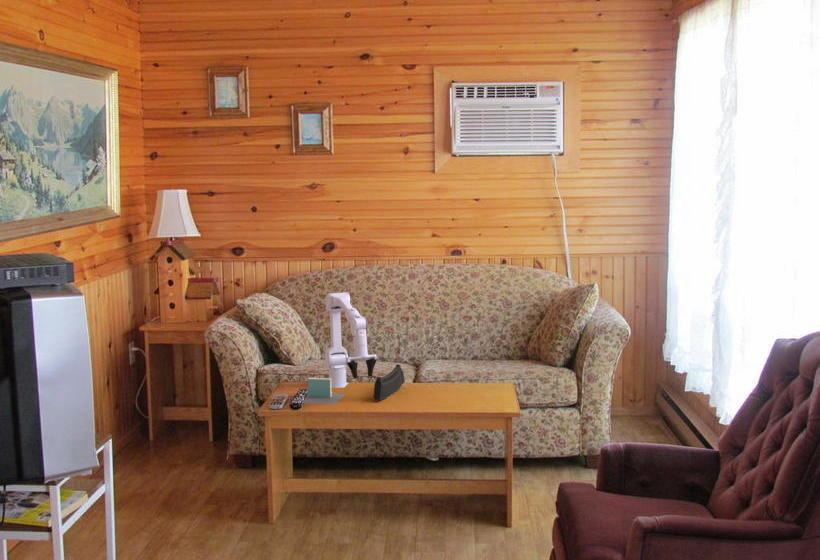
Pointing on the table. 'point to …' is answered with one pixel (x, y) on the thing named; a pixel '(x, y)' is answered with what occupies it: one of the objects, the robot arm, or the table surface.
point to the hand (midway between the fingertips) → (362, 377)
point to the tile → (320, 387)
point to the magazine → (388, 383)
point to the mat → (323, 399)
